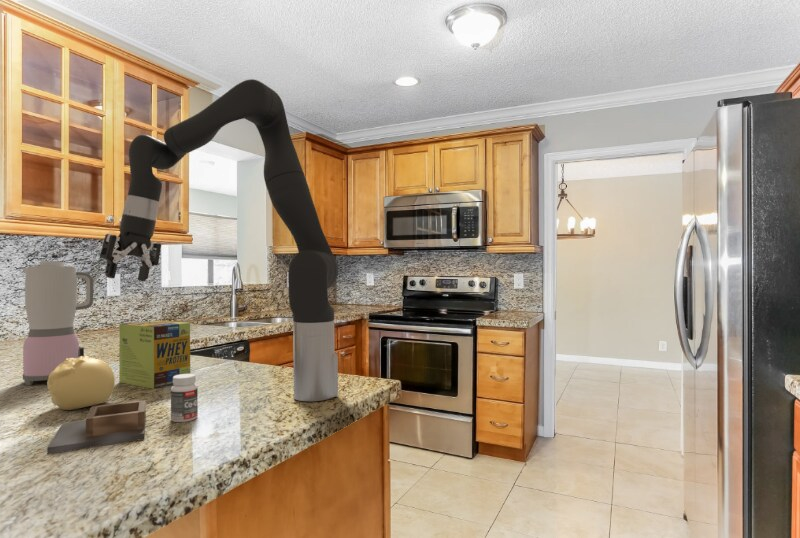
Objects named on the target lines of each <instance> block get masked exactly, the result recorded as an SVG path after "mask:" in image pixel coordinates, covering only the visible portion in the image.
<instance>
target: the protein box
mask: <svg viewBox="0 0 800 538" xmlns="http://www.w3.org/2000/svg"><path fill="white" fill-rule="evenodd" d="M118 328H119V332H118V333H119V341H118V342H119V349H118V350H119V355H118V356H119V360H118V361H119V381H118V382H119V383H121V384H127V385H130V386H131V385H133V386H137V387H141V388H148V389H152V390H154V389H160V388H164V387H169V386H172V385H173V386H174V384H173V377H174V376H176V375H180V374H191V322H185V321H169V320H167V321H166V320H165V321H164V320H150V321H147V320H146V321H136V322H124V323H119V327H118Z"/></svg>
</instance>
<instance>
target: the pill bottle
mask: <svg viewBox="0 0 800 538" xmlns="http://www.w3.org/2000/svg"><path fill="white" fill-rule="evenodd" d="M198 389H199V388H198V385H197V382H196V374H195V373H190V374H180V375H176V376H174V377H173V386H171V388H170V420H171V422H174V423H186V422H190V421H193V420H195V419H197V418H198V414H199V413H198V412H199V411H198V408H199V403H198V397H199V395H198V393H199V392H198Z"/></svg>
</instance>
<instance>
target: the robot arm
mask: <svg viewBox="0 0 800 538" xmlns="http://www.w3.org/2000/svg"><path fill="white" fill-rule="evenodd" d="M244 119H245V120H247V121H249V122H251V123H252V124H254V126H255V127H256V129H257V131H258V134H259V136H260V138H261V141H262V145H263V148H264V162H263V178H264V183H265V186H266V190H267V192H268V193H267V194H268V196H269V199H270V201H271V204H272V206H273V208H274V210H275V212H276V213H277V214H278V216H279V217H280V219H281V220H282V222H283V223H284V225H285V226H286V227H287V229H288V230H289V232H290V233H291V235H292V237H293V240H294V242H295V245H296V248H297V251H298V252H297V253H295V254H294V256H293V257H292V258H291V259H290V262H289V265H288V270H287V271H288V272H287V274H288V275H287V282H288V286H287V287H288V300H289V301H288V303H289V307H290V311H291V314H292V321H293V322H292V324H293V325H292V328H293V329H292V331H293V332H292V335H293V337H292V338H293V339H292V340H293V341H292V342H293V343H292V344H293V345H292V346H293V347H292V348H293V352H292V353H293V355H292V356H293V358H292V359H293V399H294V400H296V401H300V402H322V401H326V400H330V399H333V398H335V397H339V376H338V375H339V368H338V367H339V363H338V362H339V360H338V359H339V358H338V354H337V353H335V309H334V308H333V306H331V304H330V301H329V294H328V289H330V288H332V287H333V286H334V285H335V283H336V282H337V280H338V276H339V266H338V262H337V260H336V258H335V257H336V256H335V255H334V253H333V250H332V248H331V247H330V244H329V243H328V240H327V238H326V235H325V233H324V231H323V228H322V226H321V222H320V219H319V215H318V212H317V210H316V209H317V208H316V207H315V203H314V201H313V198H312V195H311V190H310V187H309V184H308V181H307V179H306V175H305V173H304V170H303V167H302V165H301V162H300V159H299V156H298V153H297V150H296V147H295V145H294V142H293V140H292V136H291V133H290V129H289V124H288V119H287V113H286V110H285V105H284V103H283V100H282V98H281V96H280V95H279V94H278V92H276V91H275V90H273V89H272V88H271V87H270V86H268V85H267V84H265V83H263V82H262V81H260V80H258V79H255V78H248V79H244V80H241V81H240V82H238V83H237V84H236V85H234V86H233V87H231V88H230V89H228V91H227V92H225V93H223V94H222V95H221V96H220V97H218V98H217V99H215V100H214V101H213V102H211V103H209V105H208V106H207V107H205V108H204V109H202V110H201V111H200V112H198V113H196V114H194V115H192V116H191V117H188V118H186V119H184V120H182V121H181V122H178V123H176V124H174V125H172V126H170V127H168V128H167V129H166V130H164V133H163V139H164V140H163V141H162V140H160V139H157V138H155V137H153V136H150V135H148V134H139V135H137V136H135V137H134V138H133V139H132V141H131V143H130V145H129V149H128V159H129V168H130V169H129V172H130V183H129V187H128V192H127V197H126V199H125V202H124V205H123V209H122V214H121V220H120V225H119V233H118V234H119V235H118V236H117V235H115V234H110V233H106V234H105V236H104V239H103V243H102V247H101V250H100V253H99V257H100V258H101V259H104V260H105V261H106V267H105V270H104V271H105V272H104V274H105V277H106V278H108V279H115V277H116V273H117V270H118V269H117V268H118V262H119V261H120V260H121V259H123V258H125V257H126V256H130V257H133V256H134V257H136V258H137V259H138V260H139V261H140V264H141V265H140V267H139V271H138V275H137V281H139V282H146V281H147V280H148V278H149V274H150V269H151V268H152V267H155V266H156V267H157V266H158V265H159V263H160V262H159V261H160V257H161V256H160V254H161V248H162V244H161V243H159V242H156V241H155V242H154V241H151V239H152V237H153V236H154V233H155V229H156V222H157V219H158V214H159V205H160V204H159V203H160V198H161V194H162V189H163V183H162V181H161V179H159V178H158V177H157V176H156V175H154V171H153V168H154V169H157V170H169V169H170V168H173V167H174V166H175V165H176V164H177V163H179V162H180V161H181V160H182V159H183V158H184V157H185V155H187V154H189V153H191V152H194V151H195V150H198V149H200V148H202V147H204V146H206V145H207V144H209V143H210V142H211V141H212V140H213V139H214V138H215V136H216V135H217V134H218V133H219V131H220V130H221V129H222V128H224V126H226V125H228V124H230V123H233V122H236V121H239V120H244ZM115 245H117V246H116V247H115ZM148 250H149V251H148Z"/></svg>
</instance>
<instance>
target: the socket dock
mask: <svg viewBox="0 0 800 538" xmlns="http://www.w3.org/2000/svg"><path fill="white" fill-rule="evenodd" d="M146 418H147V412H146V399H144V400H143V399H142V400H134V401H126V402H117V403H116V402H115V403H109V404H101V405H100V404H99V405H93V406H91V408H90V409H89V412H88V414H87V416H86V417H85V419H81V420H75V421H67V422H66V421H65V422H62V423H61V425H60V426H59V428H58V429H57V431H56V432H55V434H54V436H53V438H52V439H51V441H50V442H49V444H48V446H47V447H46V454H47V455H50V454H57V453H64V452H70V451H76V450H82V449H89V448H90V449H91V448H95V447H102V446H107V445H108V446H110V445H116V444H122V443H123V444H124V443H127V442H133V441H134V442H135V441H141V440H145V434H146V433H145V432H146V420H147V419H146Z"/></svg>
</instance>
